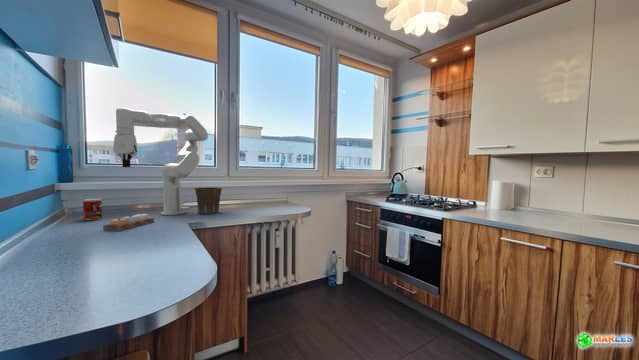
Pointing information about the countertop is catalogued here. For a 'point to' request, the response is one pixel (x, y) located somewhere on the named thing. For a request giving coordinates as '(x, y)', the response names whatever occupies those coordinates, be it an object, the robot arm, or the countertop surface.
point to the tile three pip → (118, 221)
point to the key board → (127, 225)
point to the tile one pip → (142, 216)
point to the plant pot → (208, 200)
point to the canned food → (92, 208)
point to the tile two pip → (132, 218)
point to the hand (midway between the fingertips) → (126, 167)
